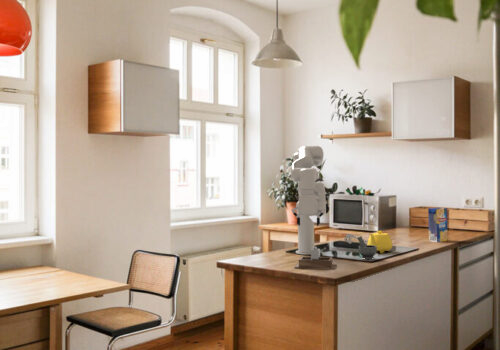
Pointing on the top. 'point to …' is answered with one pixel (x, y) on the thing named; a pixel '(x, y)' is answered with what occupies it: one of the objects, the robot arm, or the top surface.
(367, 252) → the mortar and pestle
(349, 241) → the bracket
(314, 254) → the bracket block
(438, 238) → the blue food box
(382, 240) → the teapot
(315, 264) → the brown wooden base plate
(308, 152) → the robot arm
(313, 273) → the top surface
